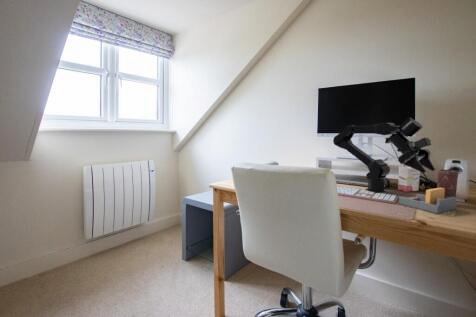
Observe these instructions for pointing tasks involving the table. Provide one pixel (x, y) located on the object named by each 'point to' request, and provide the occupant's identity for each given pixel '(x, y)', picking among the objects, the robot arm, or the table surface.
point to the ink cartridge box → (408, 179)
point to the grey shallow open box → (420, 204)
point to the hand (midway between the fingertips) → (429, 171)
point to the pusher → (434, 195)
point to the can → (448, 182)
